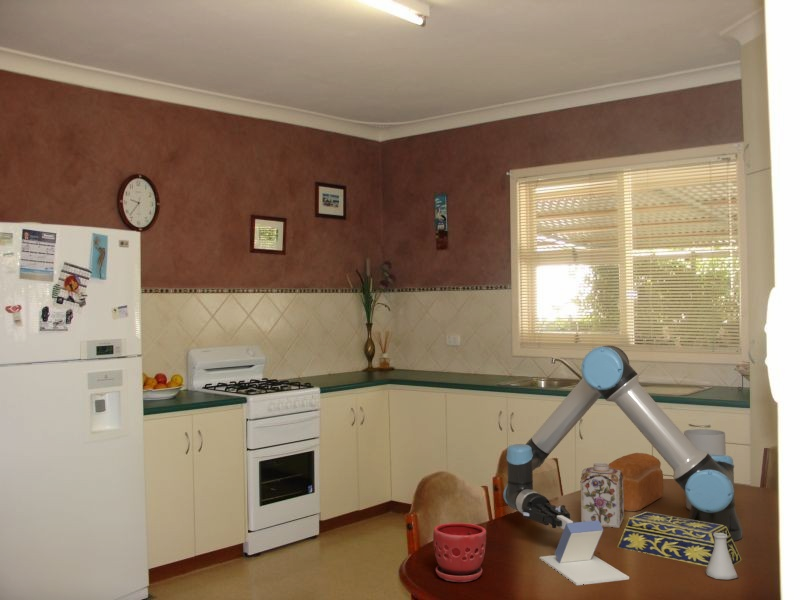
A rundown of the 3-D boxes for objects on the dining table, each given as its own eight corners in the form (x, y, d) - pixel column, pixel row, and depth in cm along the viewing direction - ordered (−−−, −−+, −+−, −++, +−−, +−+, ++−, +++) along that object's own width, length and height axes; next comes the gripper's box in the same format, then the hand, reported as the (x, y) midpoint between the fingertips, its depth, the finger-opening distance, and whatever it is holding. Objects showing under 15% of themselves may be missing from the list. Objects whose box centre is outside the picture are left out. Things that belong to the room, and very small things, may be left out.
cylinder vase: (708, 503, 261) (705, 428, 261) (736, 511, 249) (733, 433, 249) (677, 507, 256) (675, 431, 257) (705, 516, 244) (702, 436, 245)
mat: (539, 559, 206) (539, 556, 206) (587, 553, 209) (587, 551, 209) (576, 585, 185) (576, 582, 185) (629, 579, 189) (629, 576, 189)
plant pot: (472, 589, 184) (471, 538, 185) (424, 580, 191) (423, 531, 192) (495, 572, 196) (494, 524, 196) (449, 564, 202) (448, 518, 203)
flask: (700, 571, 193) (699, 531, 193) (728, 570, 194) (727, 529, 194) (714, 581, 186) (713, 539, 186) (743, 580, 187) (742, 538, 187)
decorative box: (726, 572, 193) (725, 535, 194) (616, 548, 214) (615, 515, 215) (742, 561, 201) (741, 526, 201) (635, 540, 222) (634, 508, 222)
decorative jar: (580, 525, 237) (579, 466, 237) (586, 516, 248) (584, 459, 248) (621, 528, 233) (619, 468, 233) (625, 518, 243) (623, 461, 244)
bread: (598, 507, 258) (596, 460, 258) (627, 492, 279) (626, 448, 279) (639, 513, 250) (637, 464, 250) (666, 497, 271) (664, 451, 271)
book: (554, 553, 202) (566, 523, 196) (586, 550, 205) (598, 520, 198) (559, 563, 200) (570, 533, 193) (591, 559, 202) (603, 530, 195)
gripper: (554, 516, 226) (593, 539, 203) (512, 520, 223) (547, 543, 200) (554, 490, 226) (592, 510, 203) (512, 494, 223) (546, 514, 200)
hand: (570, 526), depth 201 cm, fingers closed
